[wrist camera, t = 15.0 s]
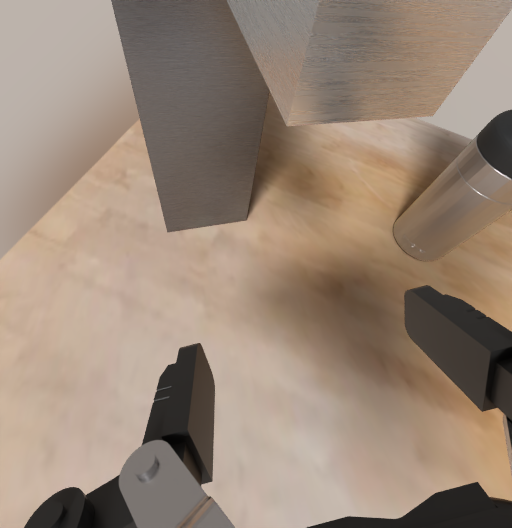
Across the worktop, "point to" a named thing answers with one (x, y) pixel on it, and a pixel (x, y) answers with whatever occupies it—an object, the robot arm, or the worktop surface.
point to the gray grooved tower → (195, 106)
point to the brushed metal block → (364, 53)
